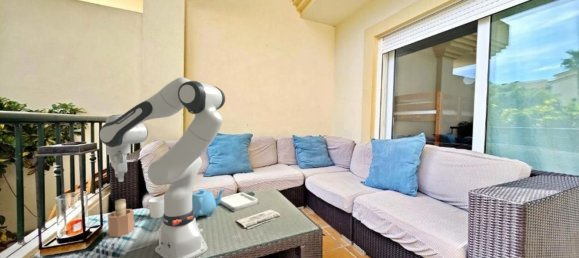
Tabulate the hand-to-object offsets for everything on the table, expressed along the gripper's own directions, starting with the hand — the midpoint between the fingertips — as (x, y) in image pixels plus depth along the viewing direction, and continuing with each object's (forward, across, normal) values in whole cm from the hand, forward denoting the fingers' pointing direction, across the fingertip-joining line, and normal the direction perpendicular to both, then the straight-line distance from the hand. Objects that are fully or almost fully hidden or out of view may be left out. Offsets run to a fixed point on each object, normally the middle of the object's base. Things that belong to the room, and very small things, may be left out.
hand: (119, 179), depth 105 cm
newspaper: (+26, -33, -56) cm, 71 cm away
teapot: (+26, -5, -37) cm, 46 cm away
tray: (+26, -5, -60) cm, 66 cm away
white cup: (+26, +8, -17) cm, 32 cm away
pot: (+26, 0, 0) cm, 26 cm away
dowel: (+25, 0, 0) cm, 25 cm away
